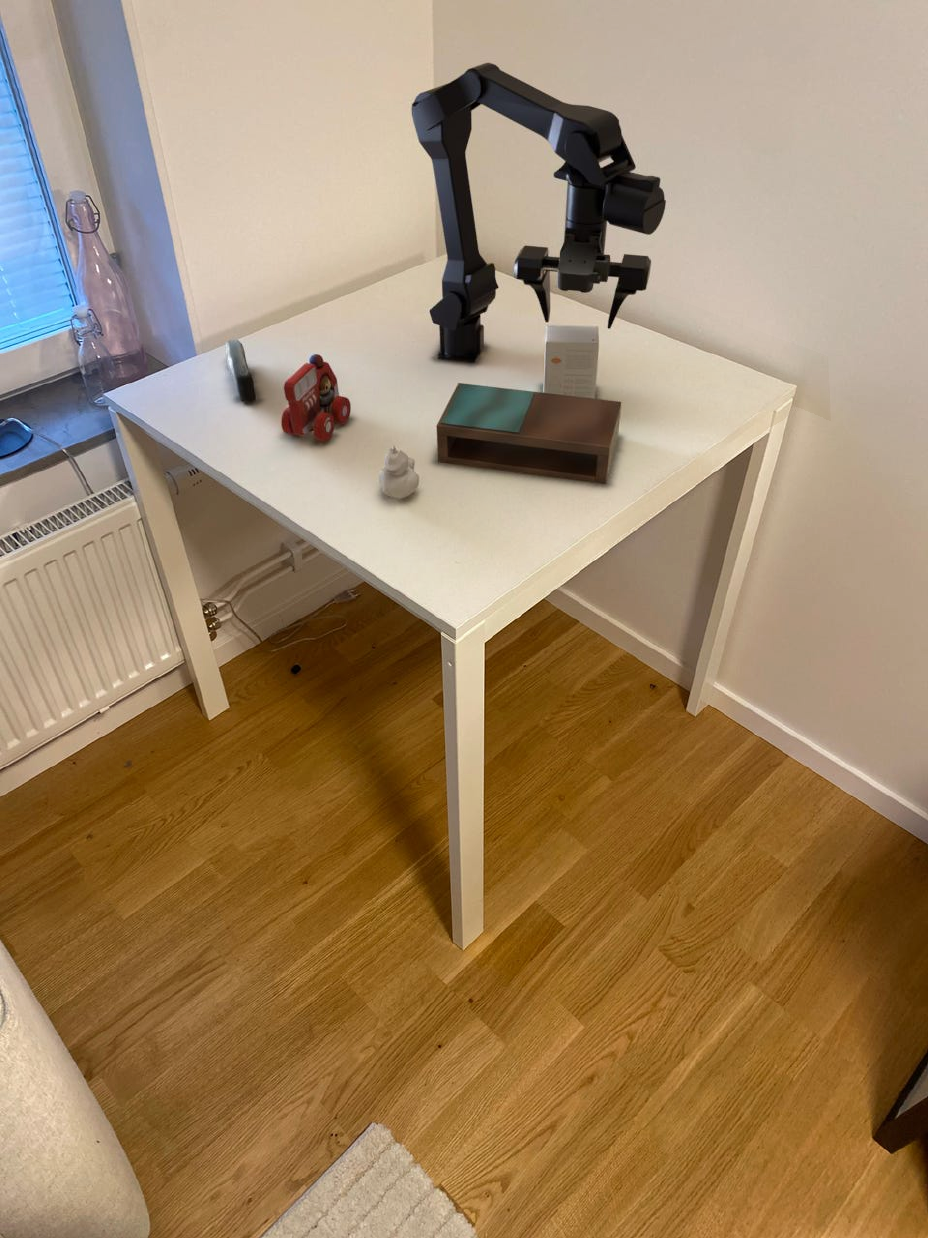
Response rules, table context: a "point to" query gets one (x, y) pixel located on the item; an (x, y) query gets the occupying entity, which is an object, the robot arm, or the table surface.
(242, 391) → the mobile phone
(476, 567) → the table surface
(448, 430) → the shelf
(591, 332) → the small box
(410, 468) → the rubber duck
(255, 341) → the table surface
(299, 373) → the toy fire truck
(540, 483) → the table surface
